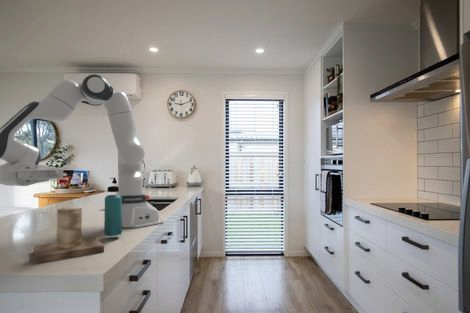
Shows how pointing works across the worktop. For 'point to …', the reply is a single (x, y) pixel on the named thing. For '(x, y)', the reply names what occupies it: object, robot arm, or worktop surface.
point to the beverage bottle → (113, 213)
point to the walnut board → (67, 250)
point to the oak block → (69, 227)
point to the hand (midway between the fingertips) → (44, 174)
